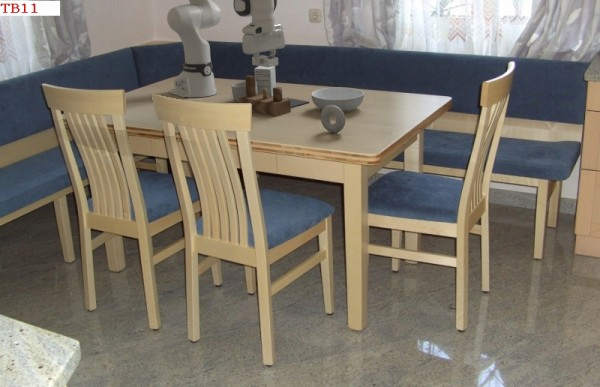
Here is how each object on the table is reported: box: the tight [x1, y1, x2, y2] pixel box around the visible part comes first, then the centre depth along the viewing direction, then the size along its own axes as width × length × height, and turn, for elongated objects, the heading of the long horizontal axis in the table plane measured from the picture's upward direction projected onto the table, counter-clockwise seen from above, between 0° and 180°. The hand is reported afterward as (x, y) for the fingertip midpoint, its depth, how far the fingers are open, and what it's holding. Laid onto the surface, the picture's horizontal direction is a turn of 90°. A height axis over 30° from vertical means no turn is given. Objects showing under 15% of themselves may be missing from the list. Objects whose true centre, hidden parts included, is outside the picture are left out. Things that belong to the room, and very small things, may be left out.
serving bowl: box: [310, 86, 365, 113], centre depth 293 cm, size 21×21×7 cm
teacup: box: [230, 80, 258, 104], centre depth 311 cm, size 14×11×8 cm
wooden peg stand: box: [238, 74, 292, 117], centre depth 294 cm, size 20×9×13 cm, turn 48°
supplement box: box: [253, 66, 277, 96], centre depth 318 cm, size 7×7×13 cm
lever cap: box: [251, 54, 279, 67], centre depth 290 cm, size 9×5×4 cm, turn 47°
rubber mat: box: [285, 97, 310, 109], centre depth 306 cm, size 12×12×1 cm
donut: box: [320, 105, 346, 134], centre depth 261 cm, size 10×4×10 cm, turn 51°
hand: (265, 62), depth 291 cm, fingers closed on lever cap, 5 cm apart
